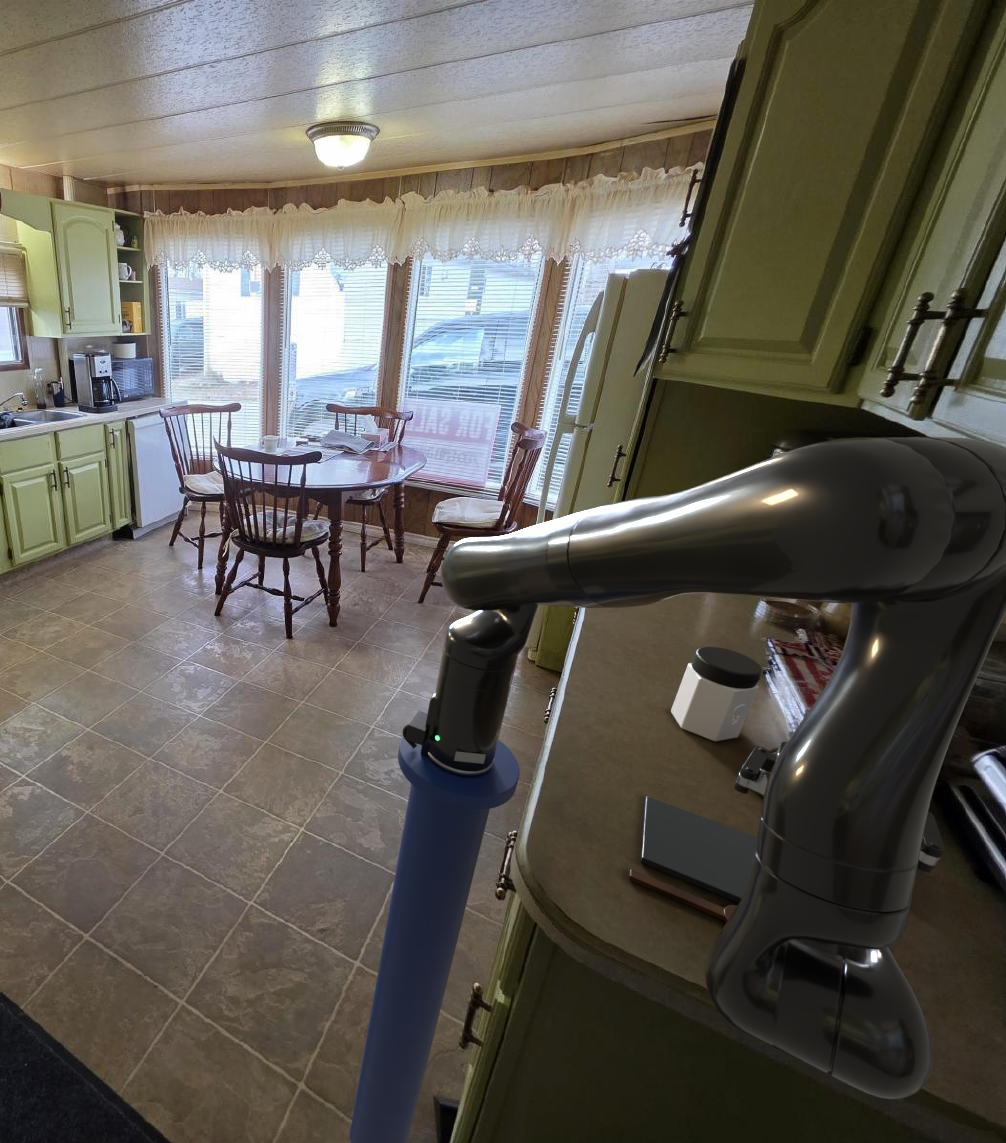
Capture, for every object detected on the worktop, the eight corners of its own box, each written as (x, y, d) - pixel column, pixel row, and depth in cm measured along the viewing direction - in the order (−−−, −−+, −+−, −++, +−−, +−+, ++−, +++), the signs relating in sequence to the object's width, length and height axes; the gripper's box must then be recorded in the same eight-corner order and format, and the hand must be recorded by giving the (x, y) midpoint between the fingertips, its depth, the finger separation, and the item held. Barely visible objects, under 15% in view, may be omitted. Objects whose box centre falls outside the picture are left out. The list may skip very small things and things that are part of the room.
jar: (705, 745, 91) (732, 678, 87) (658, 713, 99) (681, 649, 94) (750, 736, 94) (779, 670, 89) (701, 706, 101) (725, 643, 96)
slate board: (640, 862, 71) (642, 857, 71) (644, 800, 80) (646, 796, 80) (781, 920, 65) (784, 915, 64) (768, 846, 74) (771, 841, 74)
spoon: (627, 887, 68) (629, 882, 68) (629, 865, 71) (631, 860, 70) (766, 947, 62) (768, 942, 61) (762, 920, 65) (764, 916, 64)
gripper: (976, 879, 44) (957, 771, 55) (735, 778, 53) (760, 703, 65) (927, 949, 47) (919, 833, 58) (706, 841, 56) (735, 759, 67)
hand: (835, 765), depth 61 cm, fingers closed on smoothie, 6 cm apart
